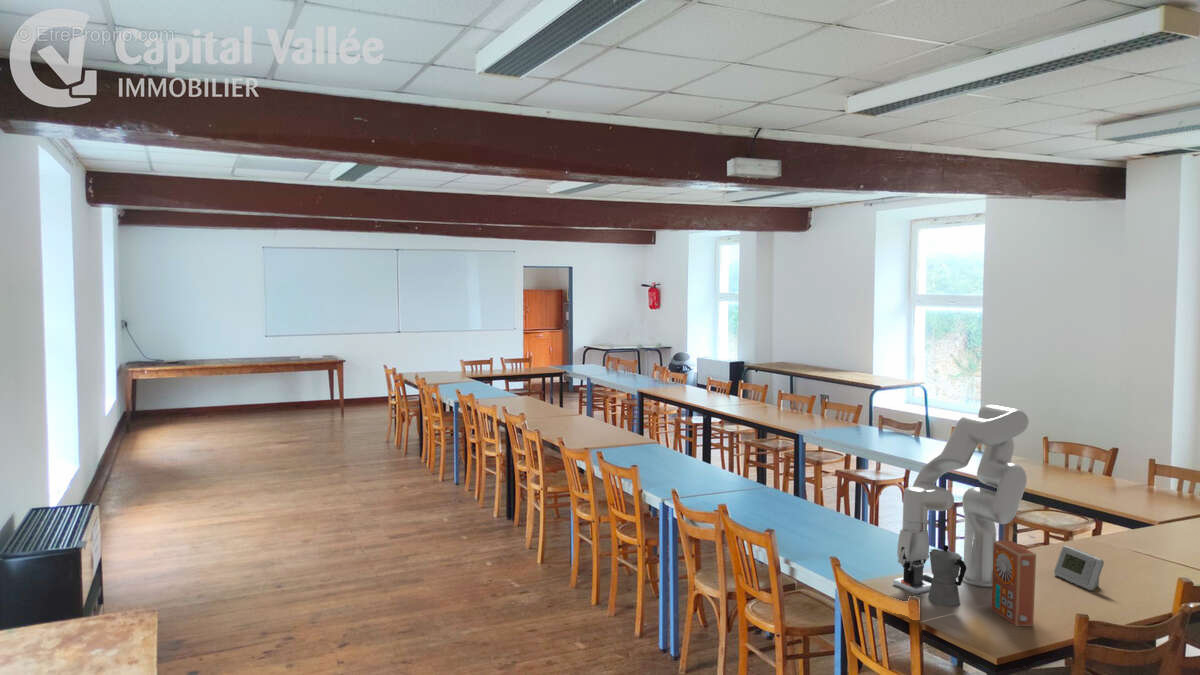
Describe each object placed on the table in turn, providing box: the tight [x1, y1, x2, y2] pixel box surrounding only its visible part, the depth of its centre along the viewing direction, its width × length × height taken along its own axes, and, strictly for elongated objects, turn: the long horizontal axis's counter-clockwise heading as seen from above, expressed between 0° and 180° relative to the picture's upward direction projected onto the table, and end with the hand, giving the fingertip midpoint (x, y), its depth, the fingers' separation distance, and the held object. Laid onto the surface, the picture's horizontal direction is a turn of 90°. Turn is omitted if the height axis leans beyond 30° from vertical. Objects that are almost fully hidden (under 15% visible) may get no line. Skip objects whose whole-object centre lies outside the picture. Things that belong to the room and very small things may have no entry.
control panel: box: [990, 540, 1037, 627], centre depth 228 cm, size 21×7×15 cm
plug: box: [902, 561, 924, 587], centre depth 251 cm, size 4×5×8 cm
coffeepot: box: [927, 544, 966, 607], centre depth 239 cm, size 15×9×18 cm, turn 14°
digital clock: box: [1053, 545, 1104, 592], centre depth 258 cm, size 16×9×11 cm, turn 1°
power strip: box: [892, 572, 933, 595], centre depth 253 cm, size 16×9×2 cm, turn 117°
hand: (913, 579), depth 251 cm, fingers closed on plug, 3 cm apart
